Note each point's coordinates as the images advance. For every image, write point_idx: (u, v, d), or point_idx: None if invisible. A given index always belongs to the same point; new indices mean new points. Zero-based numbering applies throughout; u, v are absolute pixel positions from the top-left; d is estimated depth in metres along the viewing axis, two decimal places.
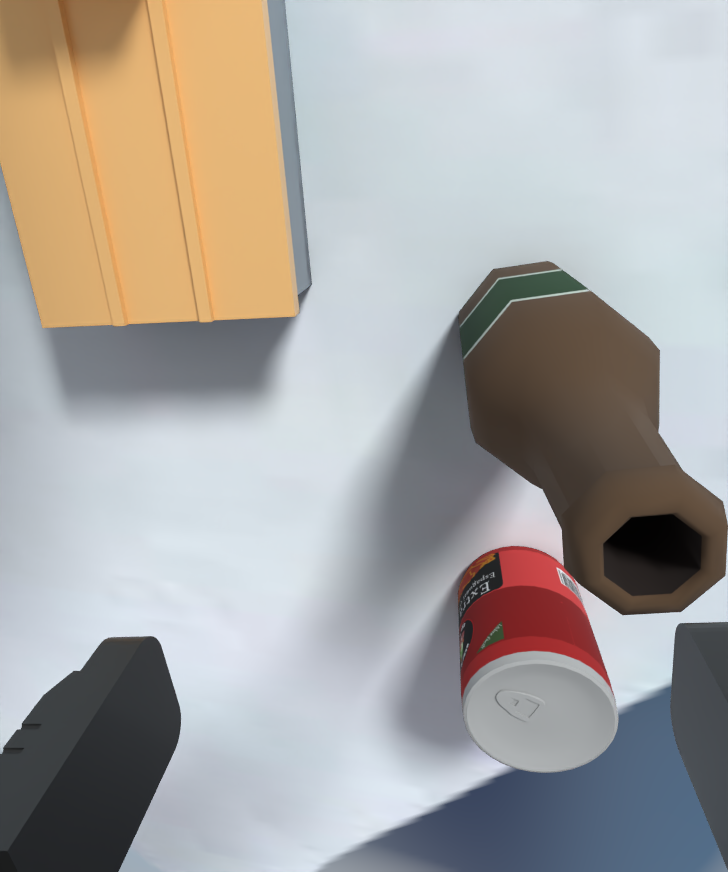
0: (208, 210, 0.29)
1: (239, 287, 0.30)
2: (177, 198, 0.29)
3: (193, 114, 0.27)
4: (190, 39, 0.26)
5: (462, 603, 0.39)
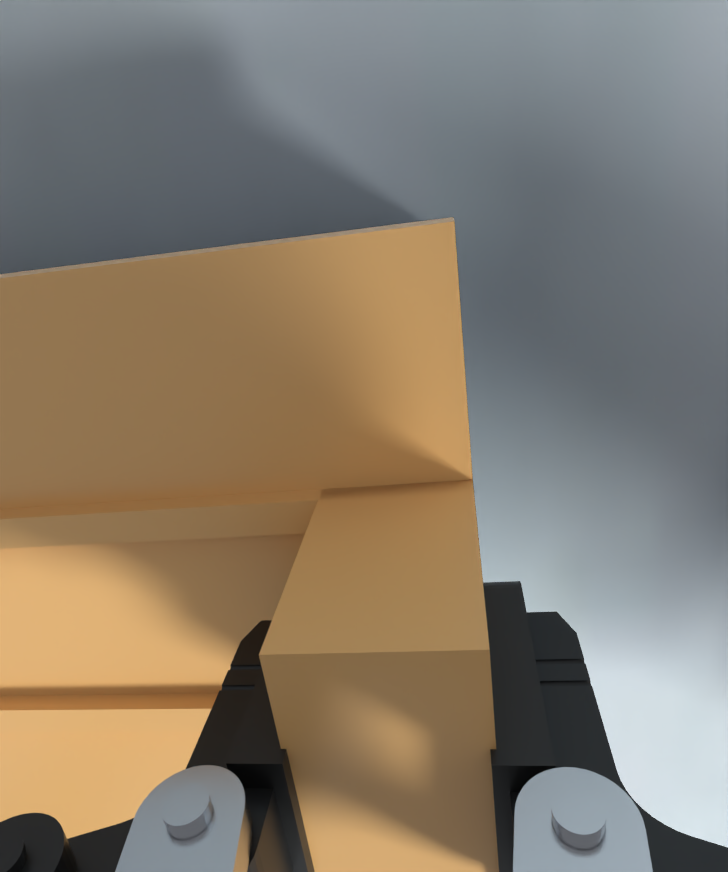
0: None
1: None
2: None
3: (105, 733, 0.13)
4: None
5: None
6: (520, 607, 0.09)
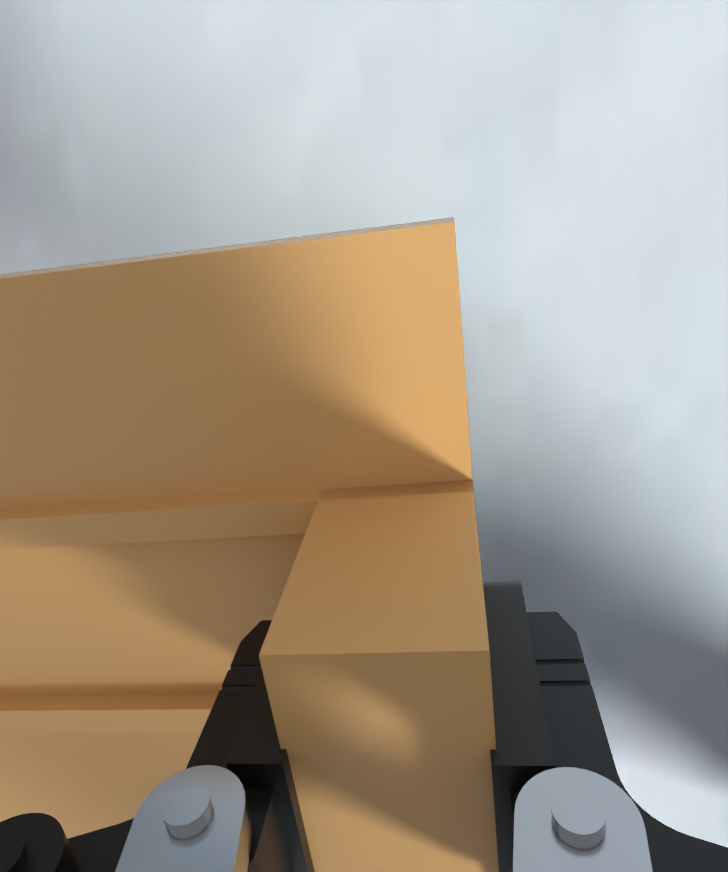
0: None
1: None
2: None
3: (104, 734, 0.13)
4: None
5: None
6: (520, 607, 0.09)
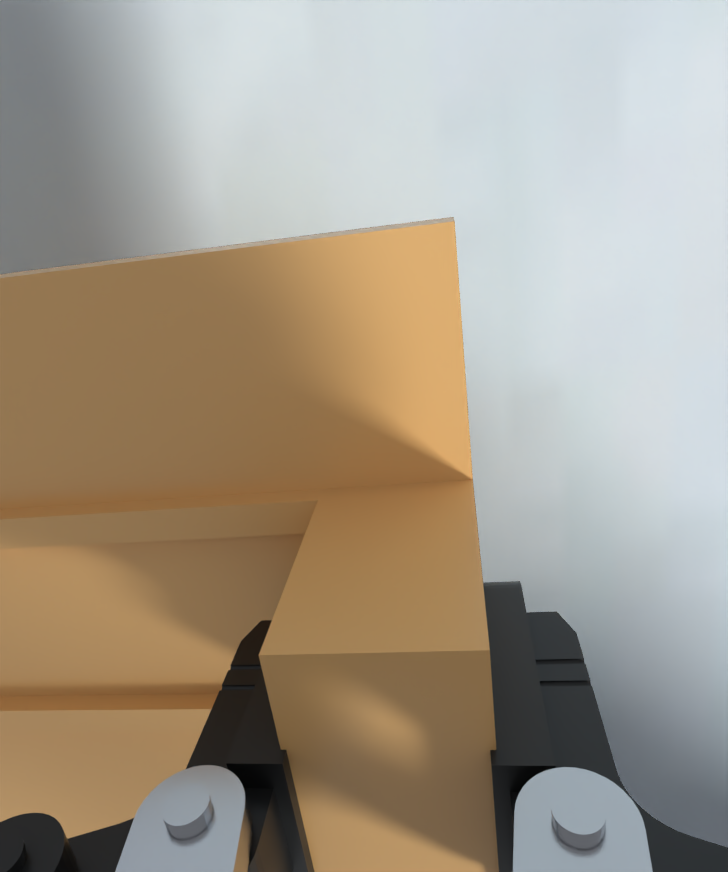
0: None
1: None
2: None
3: (104, 734, 0.13)
4: None
5: None
6: (520, 607, 0.09)
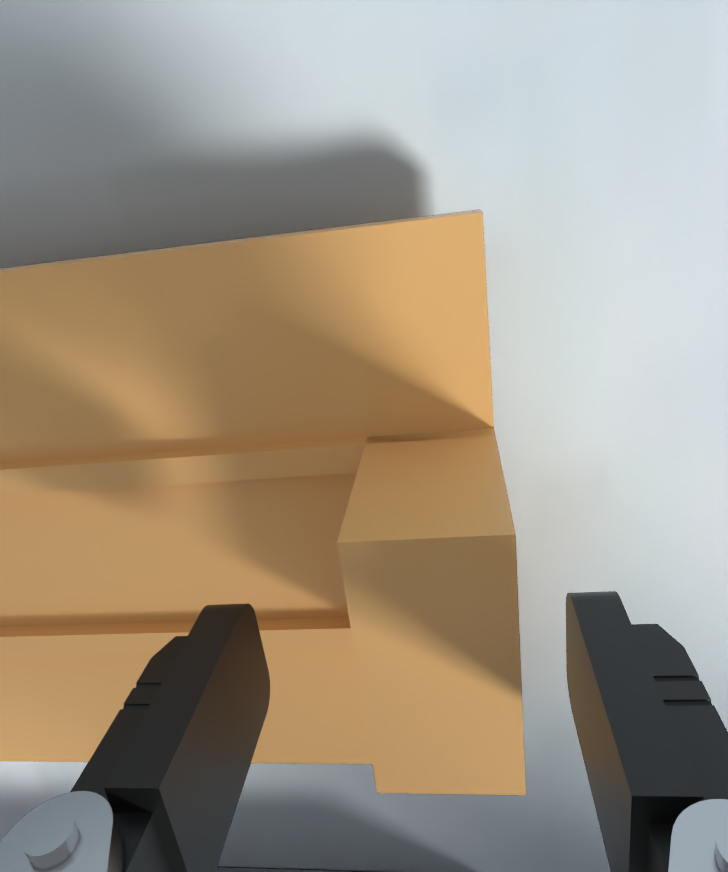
0: (26, 661, 0.16)
1: None
2: (30, 618, 0.16)
3: None
4: (280, 668, 0.15)
5: None
6: (624, 619, 0.09)
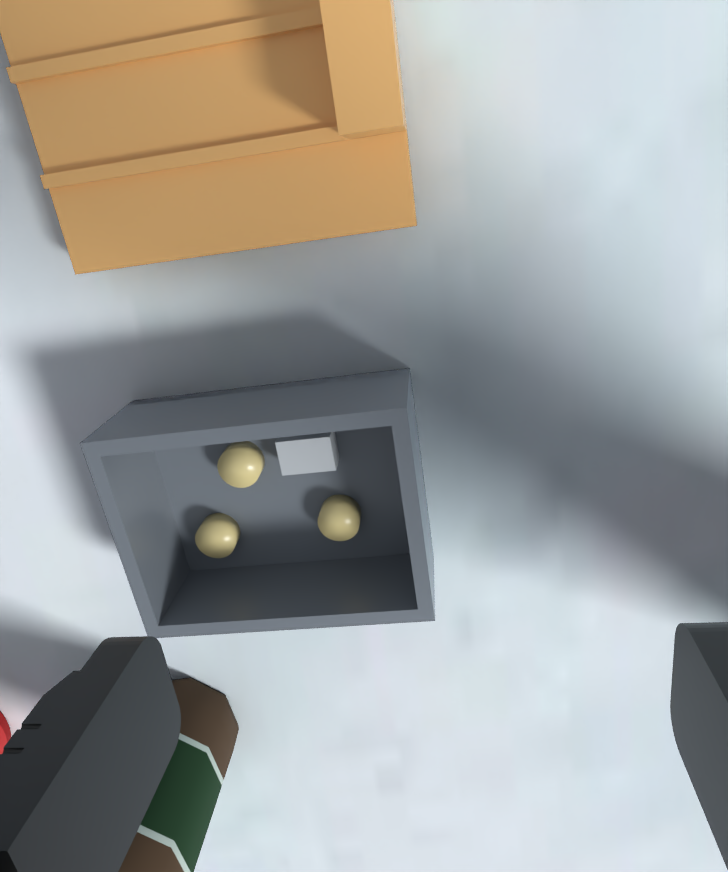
0: (150, 184, 0.29)
1: (87, 216, 0.30)
2: (154, 150, 0.29)
3: (231, 170, 0.29)
4: (291, 169, 0.29)
5: None
6: None
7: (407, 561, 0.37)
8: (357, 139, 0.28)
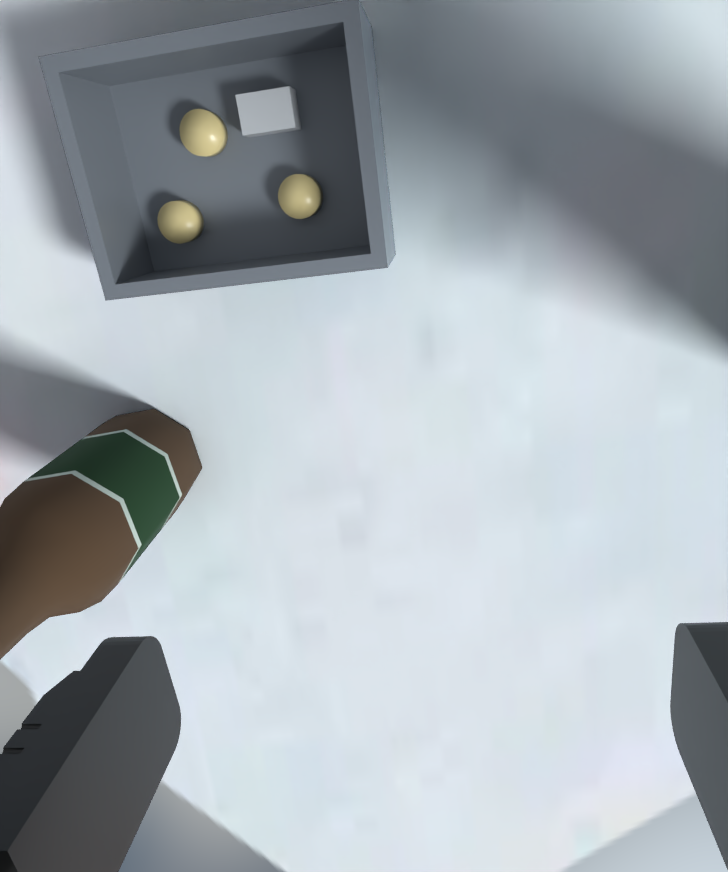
0: None
1: None
2: None
3: None
4: None
5: None
6: None
7: (367, 246, 0.37)
8: None
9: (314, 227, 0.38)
